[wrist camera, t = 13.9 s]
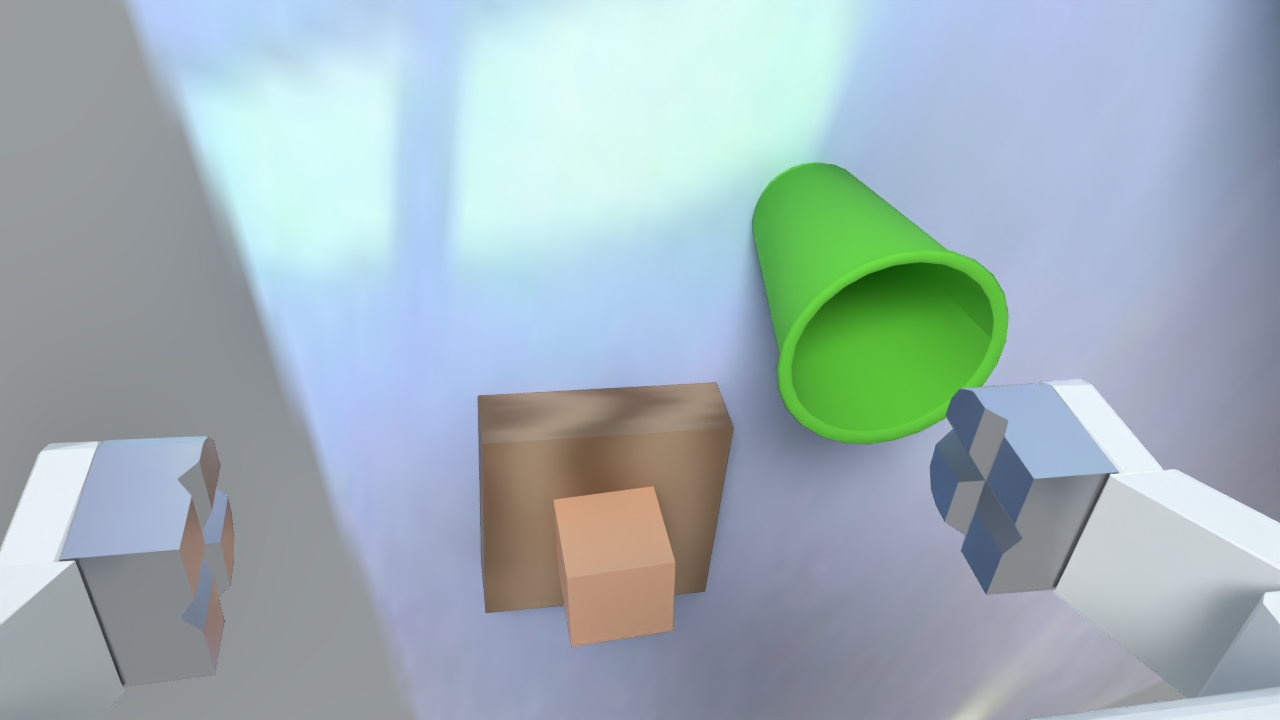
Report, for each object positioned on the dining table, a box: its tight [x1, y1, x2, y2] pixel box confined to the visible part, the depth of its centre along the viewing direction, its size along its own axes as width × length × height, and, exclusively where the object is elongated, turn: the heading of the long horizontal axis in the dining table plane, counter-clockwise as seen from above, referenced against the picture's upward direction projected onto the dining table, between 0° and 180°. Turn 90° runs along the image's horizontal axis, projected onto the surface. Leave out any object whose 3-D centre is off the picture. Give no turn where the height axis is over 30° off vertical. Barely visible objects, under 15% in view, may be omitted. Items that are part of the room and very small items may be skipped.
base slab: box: [478, 382, 733, 613], centre depth 54 cm, size 12×12×4 cm
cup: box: [752, 163, 1008, 444], centre depth 43 cm, size 9×9×11 cm
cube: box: [554, 486, 675, 647], centre depth 51 cm, size 5×5×5 cm
